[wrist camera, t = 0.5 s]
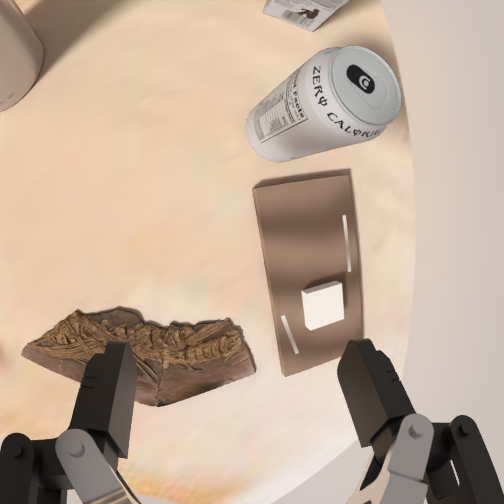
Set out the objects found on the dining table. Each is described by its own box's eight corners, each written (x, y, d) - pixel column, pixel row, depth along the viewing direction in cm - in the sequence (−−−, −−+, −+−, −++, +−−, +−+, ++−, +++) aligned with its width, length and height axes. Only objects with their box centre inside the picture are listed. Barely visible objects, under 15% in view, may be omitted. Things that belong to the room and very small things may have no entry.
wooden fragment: (264, 320, 31) (267, 323, 30) (247, 405, 32) (250, 410, 31) (17, 291, 23) (13, 294, 22) (28, 383, 25) (25, 388, 24)
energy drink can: (285, 175, 29) (390, 160, 15) (230, 142, 27) (300, 90, 13) (311, 125, 29) (418, 83, 14) (261, 92, 27) (343, 18, 12)
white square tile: (301, 290, 30) (306, 294, 29) (335, 280, 31) (341, 283, 30) (305, 326, 31) (310, 330, 30) (338, 315, 32) (344, 318, 31)
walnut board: (252, 188, 28) (255, 188, 27) (343, 175, 30) (348, 174, 29) (281, 372, 32) (285, 377, 31) (357, 344, 35) (361, 348, 34)
